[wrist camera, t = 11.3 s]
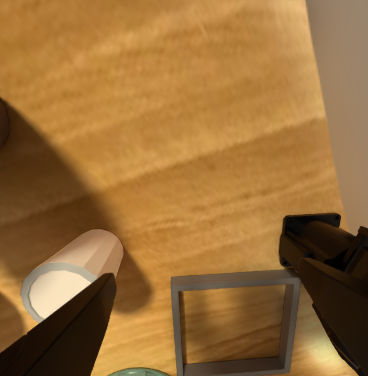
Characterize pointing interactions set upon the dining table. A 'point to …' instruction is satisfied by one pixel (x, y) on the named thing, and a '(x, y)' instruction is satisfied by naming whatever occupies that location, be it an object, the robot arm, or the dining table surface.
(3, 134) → the plant pot
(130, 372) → the bowl
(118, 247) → the white cup
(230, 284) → the gray square frame
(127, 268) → the dining table surface
